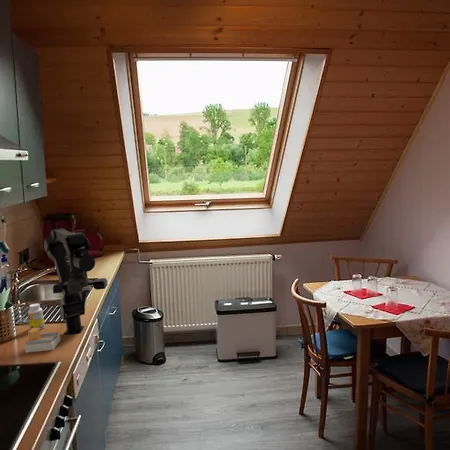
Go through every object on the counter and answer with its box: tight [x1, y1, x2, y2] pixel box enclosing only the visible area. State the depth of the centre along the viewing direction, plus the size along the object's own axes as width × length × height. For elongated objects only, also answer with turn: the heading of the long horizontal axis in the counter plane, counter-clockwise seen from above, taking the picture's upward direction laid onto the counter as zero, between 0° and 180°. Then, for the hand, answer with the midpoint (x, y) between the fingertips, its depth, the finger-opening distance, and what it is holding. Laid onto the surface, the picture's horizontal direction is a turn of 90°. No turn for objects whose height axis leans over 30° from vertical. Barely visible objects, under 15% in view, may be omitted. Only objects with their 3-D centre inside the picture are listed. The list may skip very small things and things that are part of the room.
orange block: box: [27, 328, 42, 341], centre depth 164 cm, size 4×3×4 cm
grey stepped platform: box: [24, 331, 62, 353], centre depth 164 cm, size 9×10×4 cm
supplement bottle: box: [27, 303, 46, 330], centre depth 183 cm, size 6×6×10 cm
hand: (83, 307), depth 165 cm, fingers closed
